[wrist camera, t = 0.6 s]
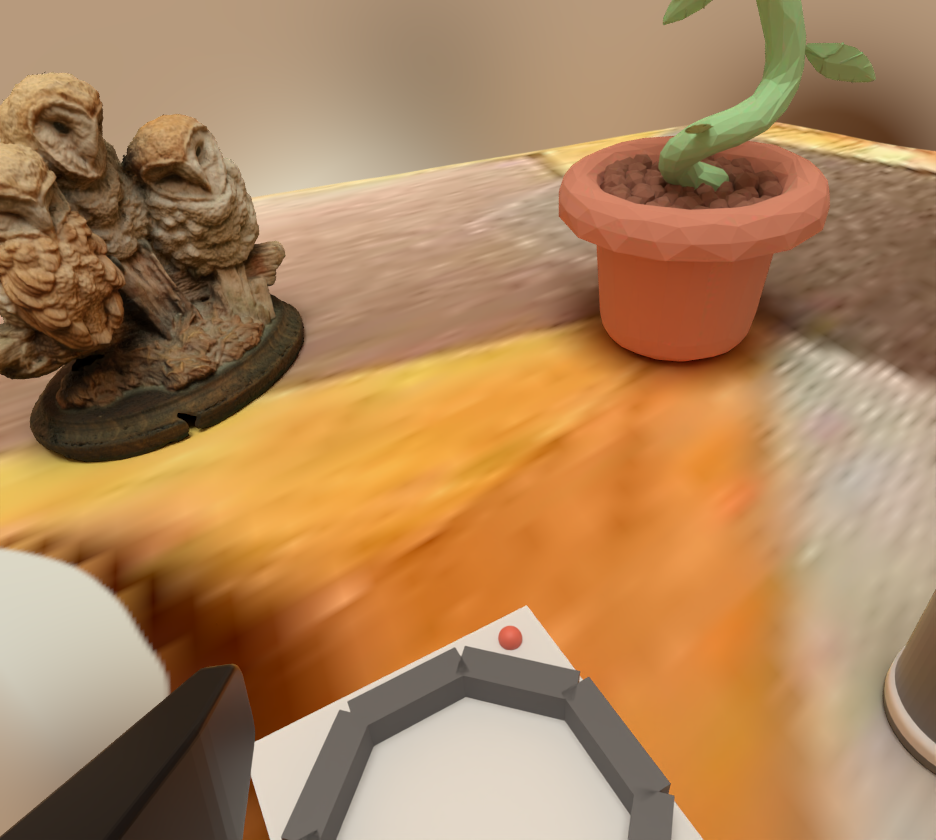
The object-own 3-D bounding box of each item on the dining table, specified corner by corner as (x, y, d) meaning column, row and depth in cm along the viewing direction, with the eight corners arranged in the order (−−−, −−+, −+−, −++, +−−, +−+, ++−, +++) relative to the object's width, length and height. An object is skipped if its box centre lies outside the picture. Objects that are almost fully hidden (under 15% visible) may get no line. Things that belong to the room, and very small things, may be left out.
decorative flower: (742, 260, 50) (860, -375, 31) (863, 370, 39) (1153, -497, 21) (532, 291, 48) (525, -357, 30) (598, 414, 38) (652, -477, 19)
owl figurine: (108, 512, 35) (-90, 153, 24) (-21, 438, 40) (-229, 119, 29) (350, 331, 46) (287, 33, 35) (223, 293, 51) (137, 25, 41)
